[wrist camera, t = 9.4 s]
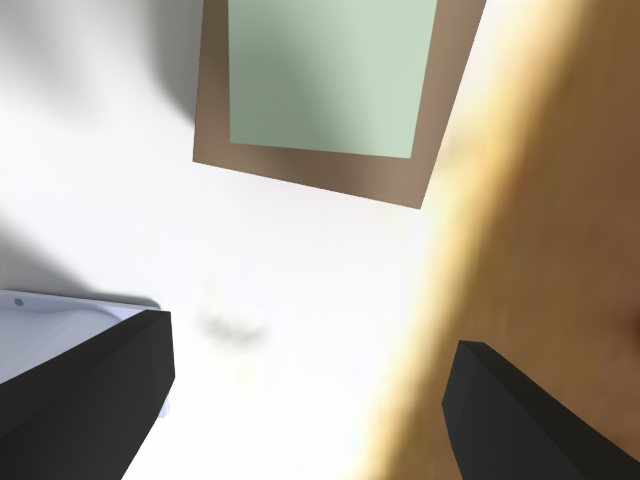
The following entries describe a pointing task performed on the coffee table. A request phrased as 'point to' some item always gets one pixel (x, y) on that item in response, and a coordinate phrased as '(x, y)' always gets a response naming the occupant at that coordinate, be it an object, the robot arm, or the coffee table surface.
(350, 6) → the sage cube
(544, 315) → the coffee table surface
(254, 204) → the coffee table surface
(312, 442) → the coffee table surface
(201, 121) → the walnut block
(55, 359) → the robot arm
